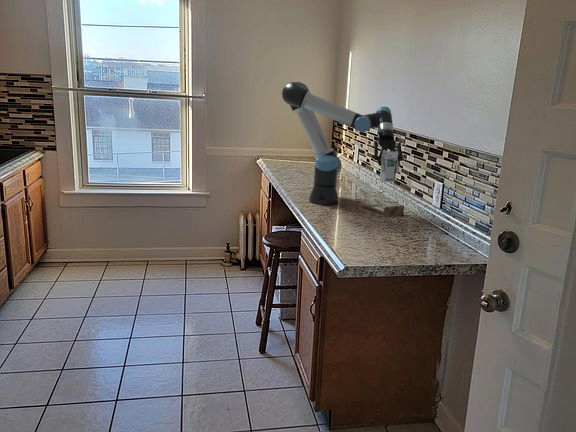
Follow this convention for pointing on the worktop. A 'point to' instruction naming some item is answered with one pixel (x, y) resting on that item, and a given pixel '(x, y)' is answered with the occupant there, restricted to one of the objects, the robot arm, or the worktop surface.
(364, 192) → the worktop surface
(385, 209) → the walnut stand board
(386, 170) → the syrup box
